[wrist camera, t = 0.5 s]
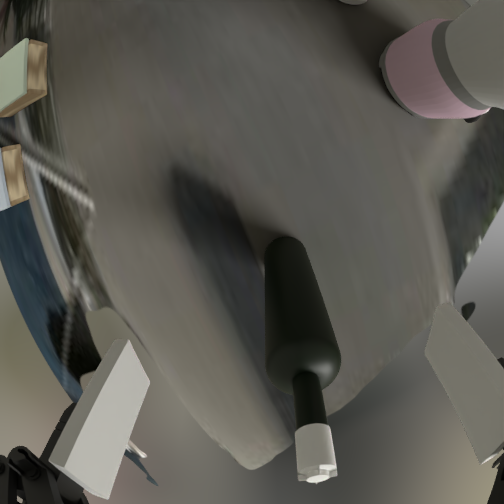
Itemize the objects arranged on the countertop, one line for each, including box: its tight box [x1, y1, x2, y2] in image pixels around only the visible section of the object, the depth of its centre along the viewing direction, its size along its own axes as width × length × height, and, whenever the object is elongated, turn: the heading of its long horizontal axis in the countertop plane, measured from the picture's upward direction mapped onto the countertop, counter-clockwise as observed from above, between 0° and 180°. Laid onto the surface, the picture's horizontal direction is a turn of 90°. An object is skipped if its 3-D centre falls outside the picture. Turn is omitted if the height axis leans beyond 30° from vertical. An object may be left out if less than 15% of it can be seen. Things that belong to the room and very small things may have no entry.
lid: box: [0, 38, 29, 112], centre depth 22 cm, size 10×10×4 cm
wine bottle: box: [265, 237, 341, 483], centre depth 25 cm, size 6×6×30 cm
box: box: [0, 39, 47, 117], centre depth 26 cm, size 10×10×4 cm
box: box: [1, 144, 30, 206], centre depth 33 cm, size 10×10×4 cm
